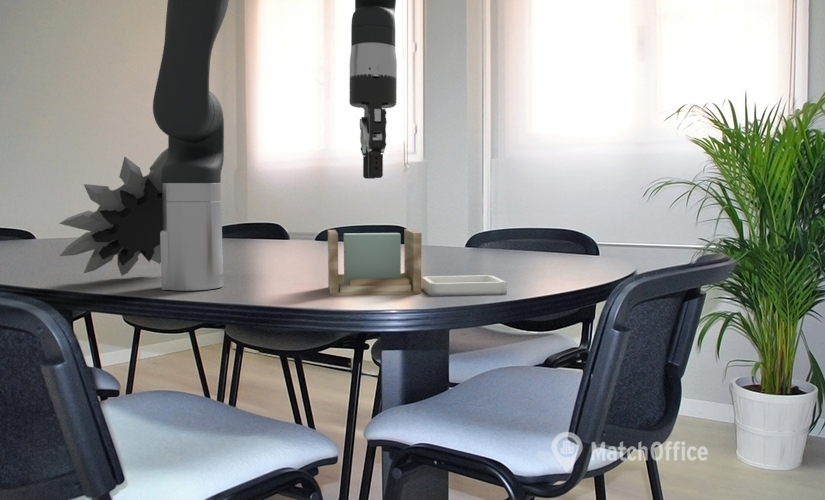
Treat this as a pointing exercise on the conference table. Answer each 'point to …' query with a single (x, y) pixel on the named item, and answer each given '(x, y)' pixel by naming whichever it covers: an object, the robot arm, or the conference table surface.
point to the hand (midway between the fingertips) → (372, 178)
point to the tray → (463, 285)
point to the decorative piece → (122, 219)
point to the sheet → (372, 256)
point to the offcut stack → (376, 285)
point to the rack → (410, 272)
